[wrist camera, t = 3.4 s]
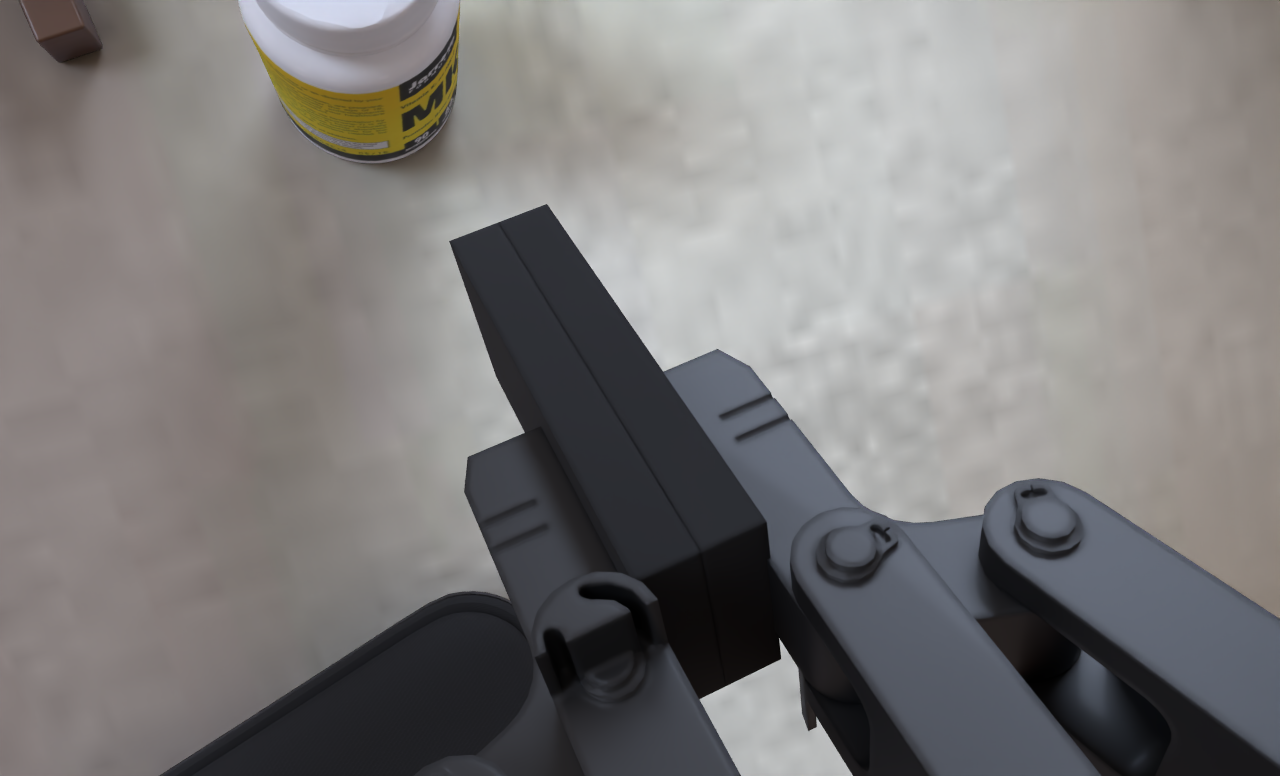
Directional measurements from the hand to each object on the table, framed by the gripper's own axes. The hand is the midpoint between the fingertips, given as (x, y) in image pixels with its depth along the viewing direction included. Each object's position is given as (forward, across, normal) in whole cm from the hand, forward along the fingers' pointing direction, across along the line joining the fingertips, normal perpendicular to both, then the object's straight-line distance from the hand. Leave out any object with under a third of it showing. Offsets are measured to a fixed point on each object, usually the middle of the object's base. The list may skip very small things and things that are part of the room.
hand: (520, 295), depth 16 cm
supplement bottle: (+15, 0, -4) cm, 16 cm away
